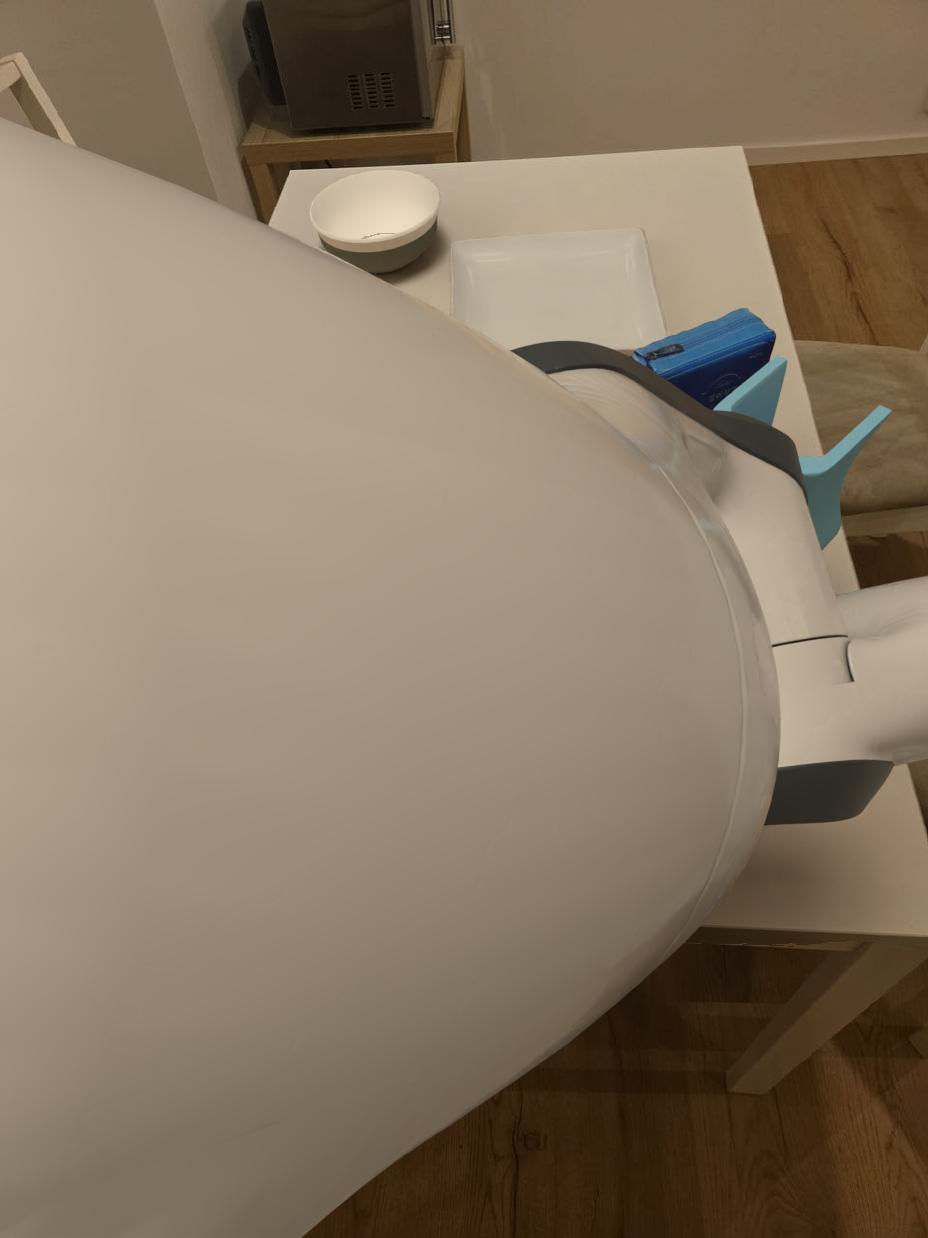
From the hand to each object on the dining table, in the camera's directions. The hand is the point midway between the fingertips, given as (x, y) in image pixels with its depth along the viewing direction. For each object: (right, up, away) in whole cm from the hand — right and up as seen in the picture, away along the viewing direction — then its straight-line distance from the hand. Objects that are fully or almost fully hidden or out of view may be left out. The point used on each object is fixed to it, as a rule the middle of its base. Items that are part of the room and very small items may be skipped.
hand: (537, 758), depth 57 cm
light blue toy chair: (+21, +11, +23) cm, 33 cm away
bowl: (-17, +63, +63) cm, 91 cm away
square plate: (+7, +51, +52) cm, 73 cm away
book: (+18, +24, +32) cm, 44 cm away
